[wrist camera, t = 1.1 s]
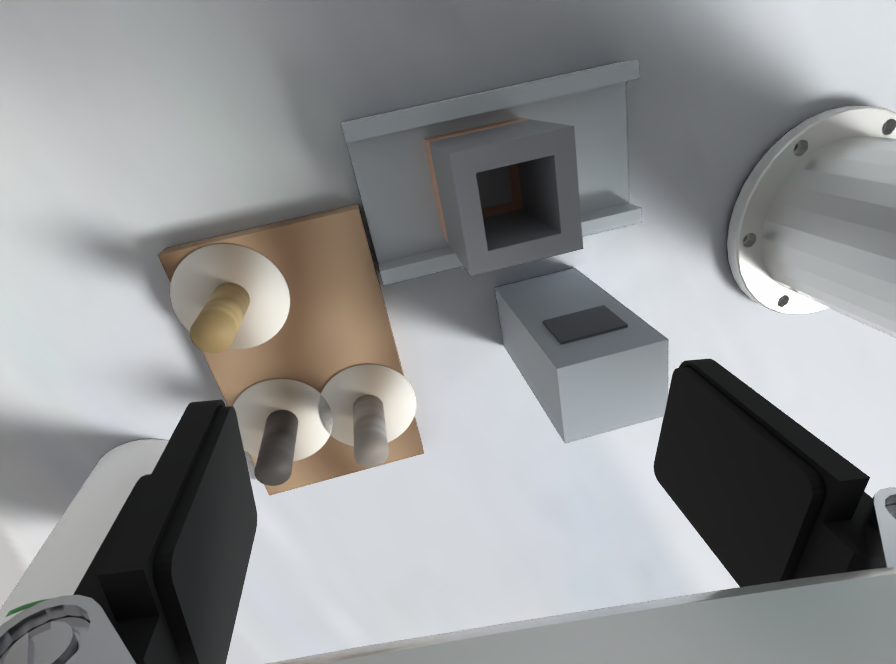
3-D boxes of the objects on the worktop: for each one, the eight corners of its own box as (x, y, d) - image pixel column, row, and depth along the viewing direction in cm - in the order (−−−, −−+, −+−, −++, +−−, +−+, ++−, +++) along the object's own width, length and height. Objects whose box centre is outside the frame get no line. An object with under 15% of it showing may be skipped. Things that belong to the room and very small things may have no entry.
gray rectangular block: (574, 265, 31) (668, 336, 22) (579, 326, 33) (668, 414, 24) (494, 285, 30) (556, 366, 21) (503, 346, 32) (564, 443, 23)
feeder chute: (619, 62, 26) (639, 60, 25) (624, 214, 30) (642, 222, 28) (341, 122, 25) (341, 124, 24) (381, 273, 29) (383, 285, 27)
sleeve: (519, 117, 26) (574, 126, 20) (530, 214, 28) (583, 248, 22) (423, 138, 26) (449, 154, 19) (442, 235, 28) (470, 276, 22)
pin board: (365, 202, 27) (370, 227, 22) (427, 440, 34) (441, 501, 29) (157, 250, 26) (112, 288, 21) (265, 484, 33) (251, 554, 28)
